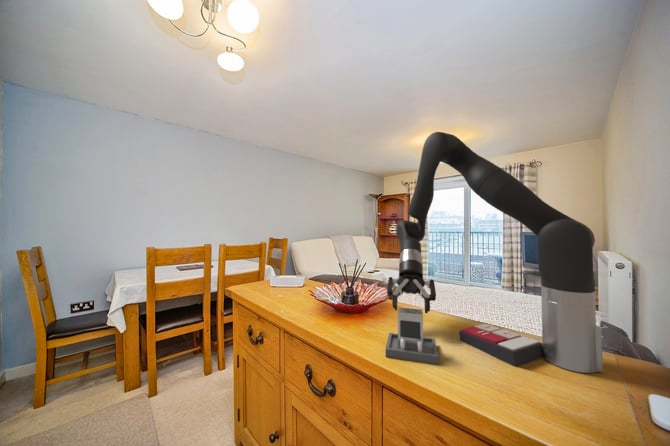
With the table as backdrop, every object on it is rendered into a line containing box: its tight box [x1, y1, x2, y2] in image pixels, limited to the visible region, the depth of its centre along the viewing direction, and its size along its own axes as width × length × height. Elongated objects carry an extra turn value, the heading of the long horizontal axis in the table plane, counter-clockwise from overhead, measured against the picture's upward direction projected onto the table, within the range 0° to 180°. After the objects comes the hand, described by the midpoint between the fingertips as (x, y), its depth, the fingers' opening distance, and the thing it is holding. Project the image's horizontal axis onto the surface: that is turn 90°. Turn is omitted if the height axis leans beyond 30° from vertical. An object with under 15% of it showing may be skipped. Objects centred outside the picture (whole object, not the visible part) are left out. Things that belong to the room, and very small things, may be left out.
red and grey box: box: [458, 323, 544, 368], centre depth 65 cm, size 11×4×15 cm
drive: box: [397, 307, 424, 351], centre depth 64 cm, size 6×4×9 cm
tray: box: [385, 332, 440, 365], centre depth 63 cm, size 12×10×4 cm
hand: (410, 310), depth 72 cm, fingers open, 8 cm apart
